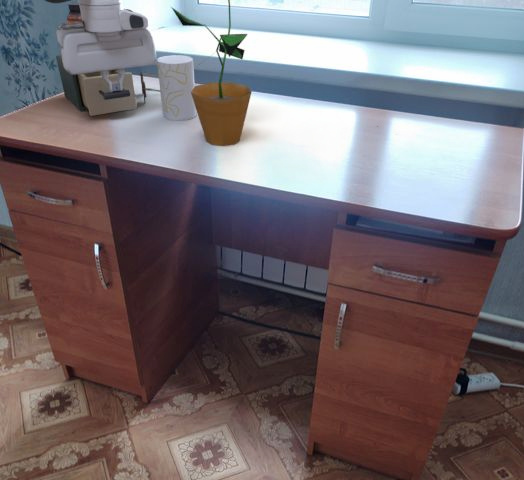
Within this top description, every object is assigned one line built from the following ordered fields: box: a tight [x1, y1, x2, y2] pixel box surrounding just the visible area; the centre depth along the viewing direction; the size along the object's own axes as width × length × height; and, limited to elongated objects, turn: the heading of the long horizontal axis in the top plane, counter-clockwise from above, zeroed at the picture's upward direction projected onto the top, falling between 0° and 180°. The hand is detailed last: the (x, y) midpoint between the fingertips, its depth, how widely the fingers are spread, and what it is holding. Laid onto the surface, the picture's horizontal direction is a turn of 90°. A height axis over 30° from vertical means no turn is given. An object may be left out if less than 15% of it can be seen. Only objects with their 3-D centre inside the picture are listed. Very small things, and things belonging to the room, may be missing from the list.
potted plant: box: [170, 0, 253, 147], centre depth 101 cm, size 18×19×30 cm
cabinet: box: [55, 54, 89, 112], centre depth 127 cm, size 14×13×10 cm
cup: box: [156, 54, 198, 121], centre depth 119 cm, size 8×8×12 cm
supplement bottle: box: [66, 1, 82, 29], centre depth 121 cm, size 6×6×11 cm
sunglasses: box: [139, 72, 161, 104], centre depth 132 cm, size 14×15×5 cm
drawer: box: [76, 70, 138, 117], centre depth 121 cm, size 17×11×8 cm, turn 31°
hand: (115, 91), depth 115 cm, fingers closed, pressing on drawer
